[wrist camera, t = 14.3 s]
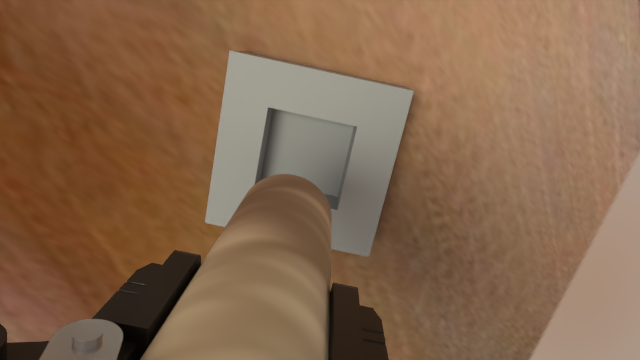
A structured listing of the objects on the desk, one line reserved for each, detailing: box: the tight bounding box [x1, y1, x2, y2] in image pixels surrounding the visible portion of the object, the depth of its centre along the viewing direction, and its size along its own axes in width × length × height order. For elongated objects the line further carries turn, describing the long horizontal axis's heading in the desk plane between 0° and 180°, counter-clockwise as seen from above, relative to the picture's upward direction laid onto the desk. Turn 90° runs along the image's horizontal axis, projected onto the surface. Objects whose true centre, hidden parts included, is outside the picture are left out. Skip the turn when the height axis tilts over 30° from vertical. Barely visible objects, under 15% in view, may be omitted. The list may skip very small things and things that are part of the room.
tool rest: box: [205, 51, 414, 257], centre depth 30 cm, size 12×12×4 cm
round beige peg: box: [140, 174, 332, 360], centre depth 12 cm, size 4×4×13 cm
